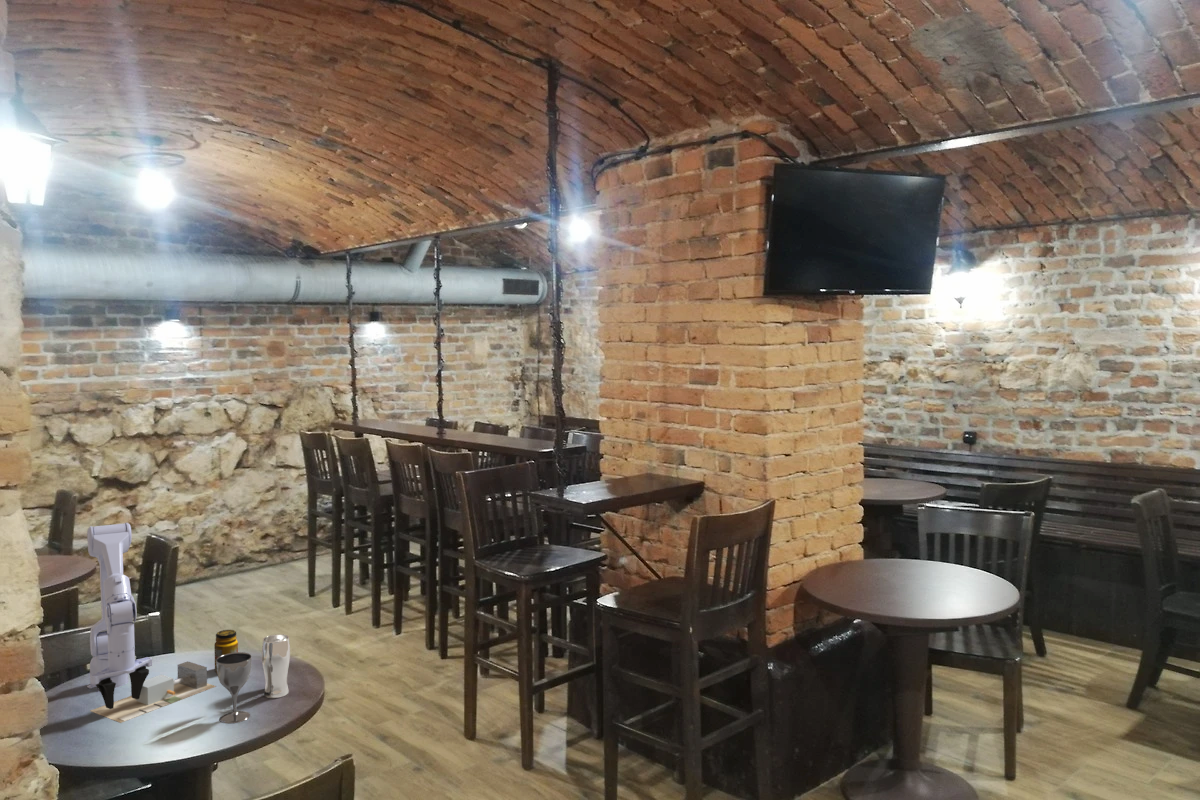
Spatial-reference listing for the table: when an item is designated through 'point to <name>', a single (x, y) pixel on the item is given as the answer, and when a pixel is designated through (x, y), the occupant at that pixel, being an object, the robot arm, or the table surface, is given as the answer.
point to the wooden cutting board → (133, 708)
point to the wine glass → (234, 681)
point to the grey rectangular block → (192, 675)
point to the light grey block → (157, 689)
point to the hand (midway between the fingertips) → (122, 702)
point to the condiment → (225, 644)
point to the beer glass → (276, 664)
